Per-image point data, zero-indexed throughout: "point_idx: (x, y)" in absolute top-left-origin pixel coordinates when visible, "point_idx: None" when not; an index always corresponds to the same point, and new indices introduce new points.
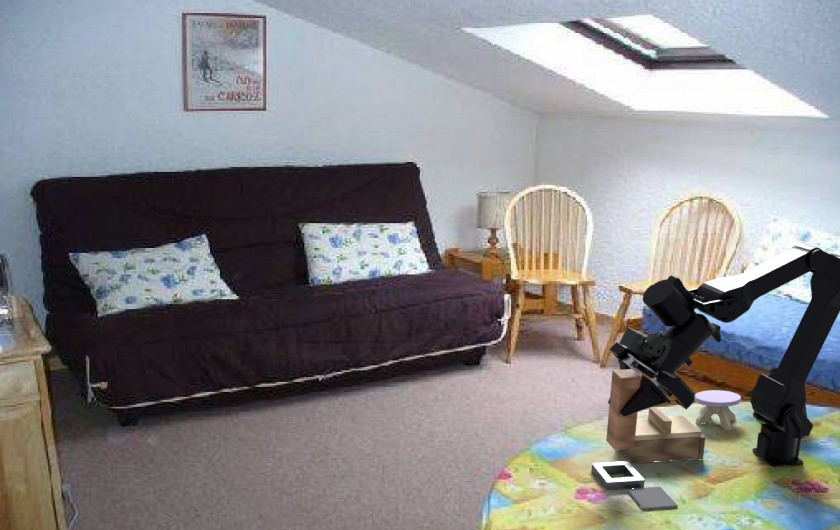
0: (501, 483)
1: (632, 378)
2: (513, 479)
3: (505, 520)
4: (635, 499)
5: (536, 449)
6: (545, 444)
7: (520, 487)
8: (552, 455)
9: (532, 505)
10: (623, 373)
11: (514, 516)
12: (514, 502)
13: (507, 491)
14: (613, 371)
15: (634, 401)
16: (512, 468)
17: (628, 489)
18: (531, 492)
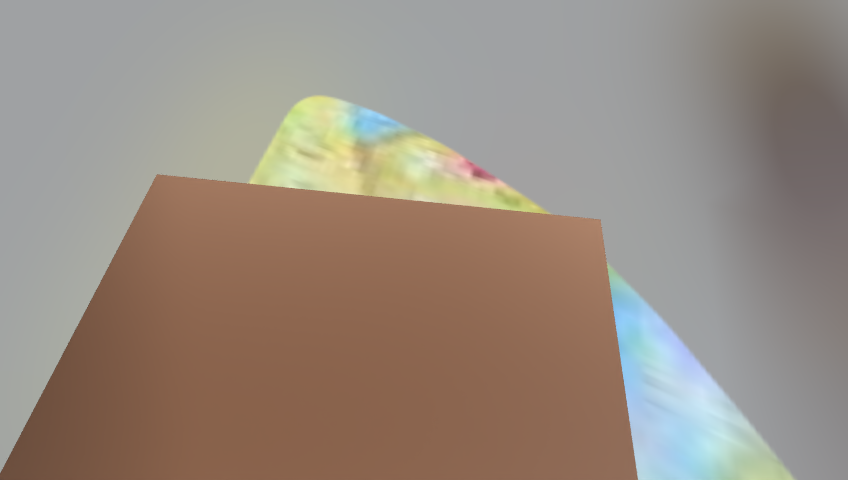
0: (447, 148)
1: (28, 459)
2: (460, 176)
3: (299, 106)
4: None
5: (627, 295)
6: (664, 337)
7: (419, 177)
8: None
9: (334, 170)
10: (363, 354)
11: (306, 124)
12: (359, 143)
13: (409, 146)
14: (544, 220)
15: None
16: (516, 194)
17: None
18: (390, 190)
